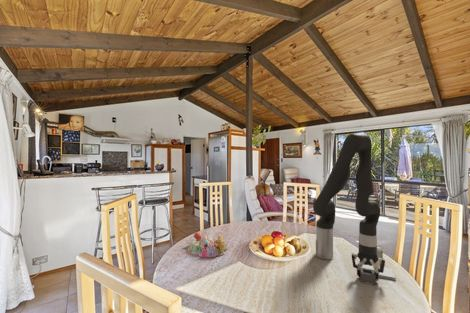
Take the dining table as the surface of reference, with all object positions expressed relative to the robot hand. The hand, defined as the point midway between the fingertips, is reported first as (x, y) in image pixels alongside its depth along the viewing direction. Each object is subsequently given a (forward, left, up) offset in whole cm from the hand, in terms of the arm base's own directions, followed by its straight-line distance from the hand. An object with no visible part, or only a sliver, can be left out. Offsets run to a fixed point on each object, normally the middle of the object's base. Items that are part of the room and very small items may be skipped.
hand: (367, 278), depth 107 cm
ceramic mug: (+5, +26, -1) cm, 27 cm away
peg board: (+5, +10, -1) cm, 11 cm away
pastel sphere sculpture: (-87, -3, -1) cm, 87 cm away
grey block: (0, 0, -1) cm, 1 cm away
